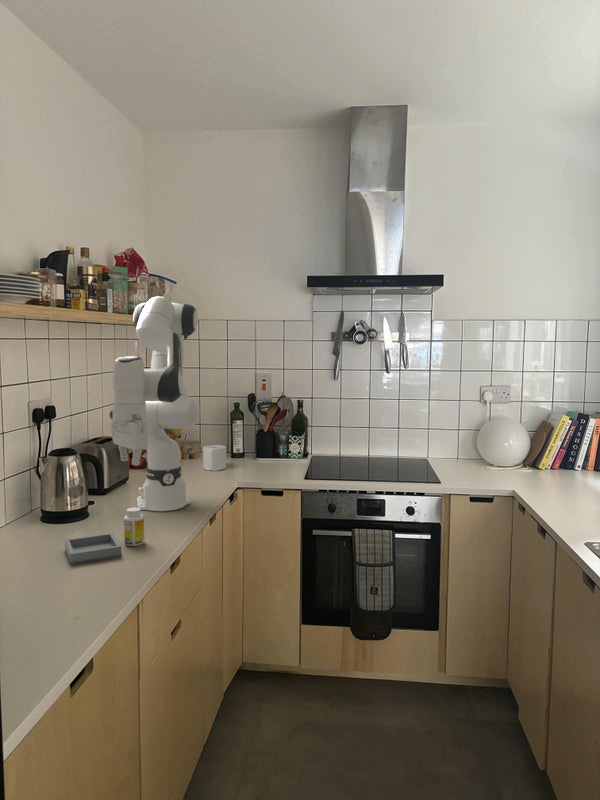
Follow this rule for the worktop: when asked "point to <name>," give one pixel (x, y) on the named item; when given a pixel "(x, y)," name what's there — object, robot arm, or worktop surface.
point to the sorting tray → (92, 548)
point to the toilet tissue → (214, 457)
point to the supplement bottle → (134, 527)
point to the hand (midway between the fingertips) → (130, 463)
